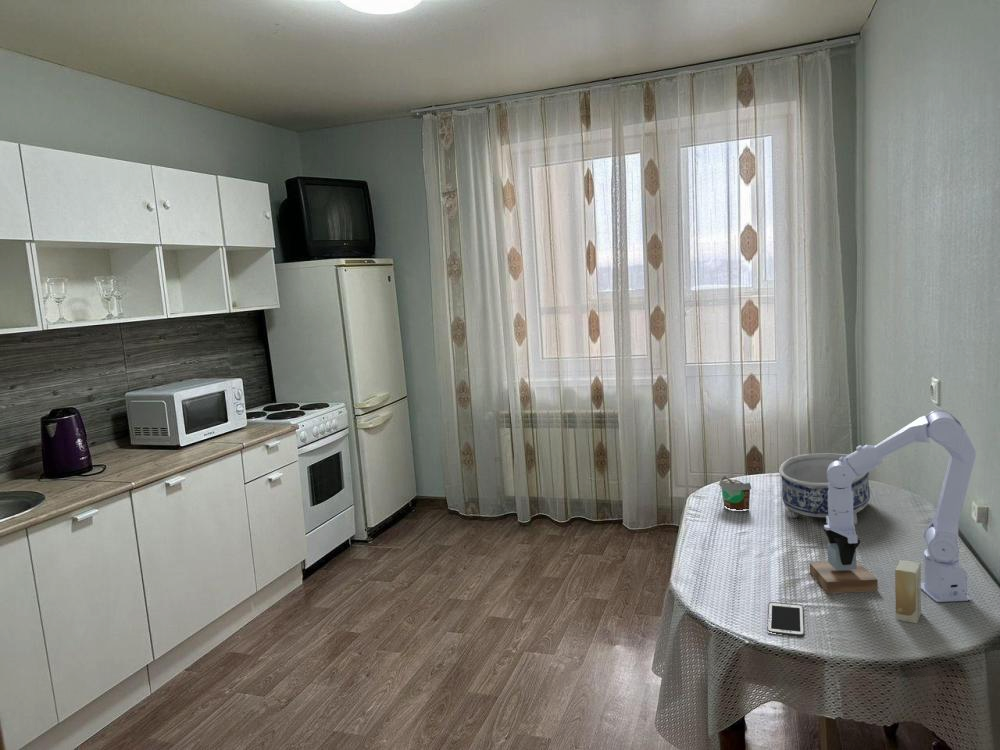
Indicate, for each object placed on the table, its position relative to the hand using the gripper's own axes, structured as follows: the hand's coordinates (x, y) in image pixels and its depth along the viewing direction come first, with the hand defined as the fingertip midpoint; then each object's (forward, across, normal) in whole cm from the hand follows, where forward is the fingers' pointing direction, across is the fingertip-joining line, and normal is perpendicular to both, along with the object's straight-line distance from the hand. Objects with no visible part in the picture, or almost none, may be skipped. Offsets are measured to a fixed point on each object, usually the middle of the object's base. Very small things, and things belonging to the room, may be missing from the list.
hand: (842, 559), depth 178 cm
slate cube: (+2, 0, 0) cm, 2 cm away
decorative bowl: (+6, -54, +16) cm, 56 cm away
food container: (+6, -59, -13) cm, 61 cm away
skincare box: (+6, +19, +7) cm, 21 cm away
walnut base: (+6, 0, 0) cm, 6 cm away
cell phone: (+6, +18, -20) cm, 28 cm away
